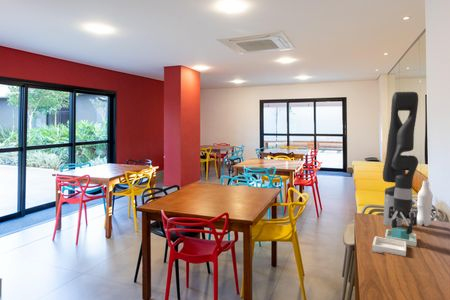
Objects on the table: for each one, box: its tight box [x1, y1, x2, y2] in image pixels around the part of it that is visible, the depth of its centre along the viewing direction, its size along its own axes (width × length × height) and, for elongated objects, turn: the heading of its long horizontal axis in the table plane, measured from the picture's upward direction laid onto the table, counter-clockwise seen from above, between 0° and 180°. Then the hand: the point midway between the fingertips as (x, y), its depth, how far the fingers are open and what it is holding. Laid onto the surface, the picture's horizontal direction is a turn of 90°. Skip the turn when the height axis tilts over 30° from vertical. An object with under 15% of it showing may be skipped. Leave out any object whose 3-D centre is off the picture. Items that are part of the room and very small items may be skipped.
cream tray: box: [371, 236, 407, 257], centre depth 134 cm, size 13×13×3 cm
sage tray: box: [384, 228, 417, 247], centre depth 144 cm, size 13×13×3 cm
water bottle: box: [416, 180, 434, 227], centre depth 169 cm, size 7×7×25 cm
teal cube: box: [391, 226, 409, 240], centre depth 144 cm, size 5×5×5 cm
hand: (401, 231), depth 144 cm, fingers open, 8 cm apart
